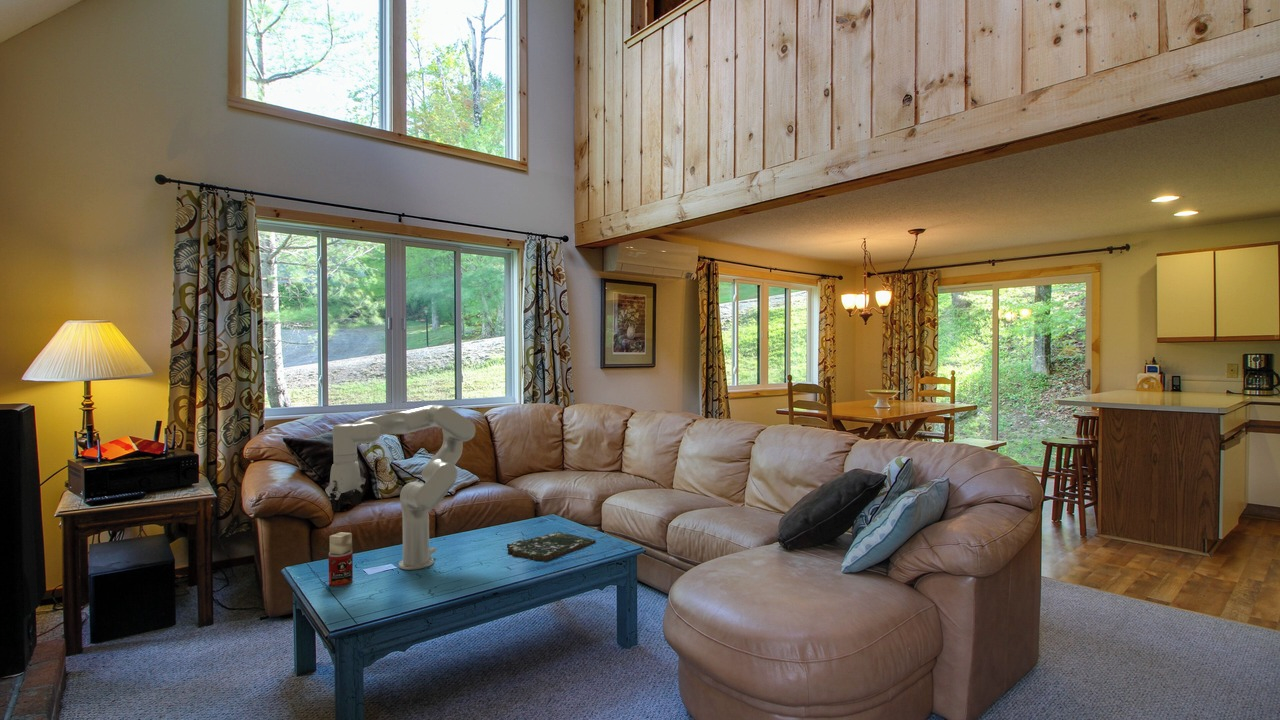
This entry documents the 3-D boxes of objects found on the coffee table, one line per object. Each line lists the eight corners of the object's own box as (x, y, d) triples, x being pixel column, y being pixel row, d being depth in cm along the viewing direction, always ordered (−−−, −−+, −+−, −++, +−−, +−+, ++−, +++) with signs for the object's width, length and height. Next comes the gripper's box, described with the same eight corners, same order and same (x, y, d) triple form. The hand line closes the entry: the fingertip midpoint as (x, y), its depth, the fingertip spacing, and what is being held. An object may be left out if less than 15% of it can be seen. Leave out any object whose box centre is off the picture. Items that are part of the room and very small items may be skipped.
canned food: (329, 588, 209) (329, 556, 209) (327, 581, 216) (327, 550, 216) (354, 583, 213) (353, 552, 213) (351, 577, 220) (351, 546, 220)
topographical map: (595, 543, 258) (595, 536, 258) (539, 565, 232) (539, 557, 232) (552, 533, 273) (552, 527, 273) (495, 552, 247) (495, 545, 247)
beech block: (340, 548, 218) (340, 532, 218) (351, 550, 216) (351, 533, 216) (329, 553, 213) (329, 536, 213) (341, 554, 211) (340, 537, 211)
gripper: (355, 454, 223) (357, 500, 224) (317, 463, 207) (318, 512, 207) (372, 455, 221) (373, 501, 221) (334, 463, 205) (335, 514, 205)
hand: (346, 507), depth 214 cm, fingers open, 9 cm apart
